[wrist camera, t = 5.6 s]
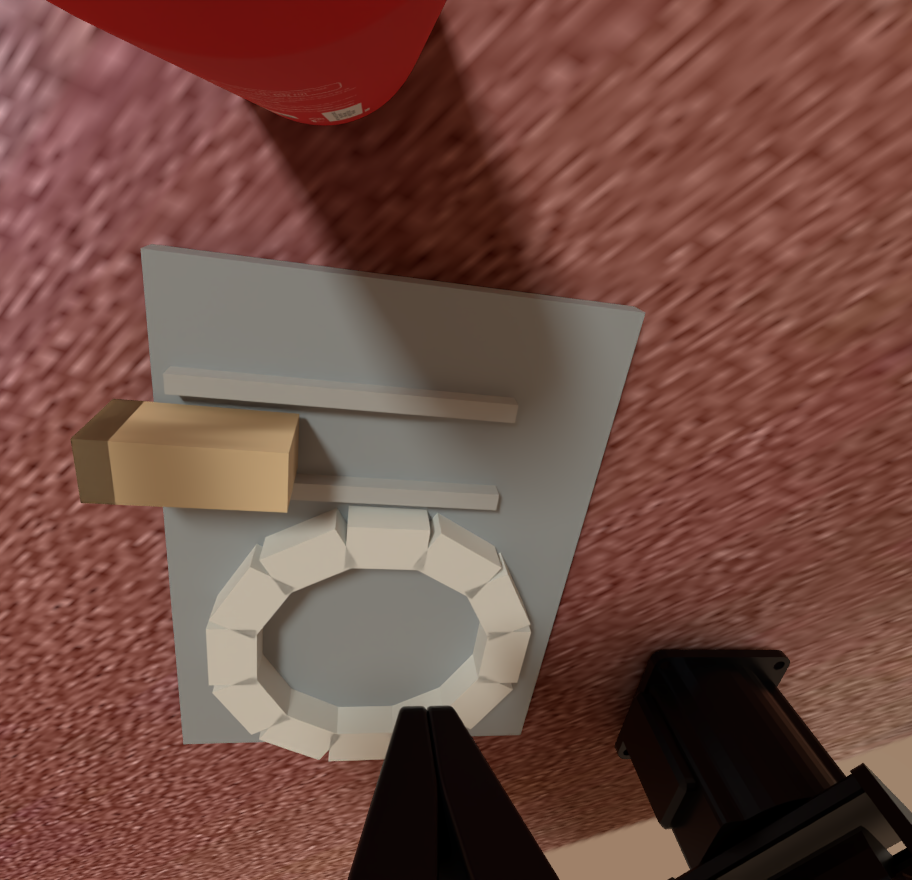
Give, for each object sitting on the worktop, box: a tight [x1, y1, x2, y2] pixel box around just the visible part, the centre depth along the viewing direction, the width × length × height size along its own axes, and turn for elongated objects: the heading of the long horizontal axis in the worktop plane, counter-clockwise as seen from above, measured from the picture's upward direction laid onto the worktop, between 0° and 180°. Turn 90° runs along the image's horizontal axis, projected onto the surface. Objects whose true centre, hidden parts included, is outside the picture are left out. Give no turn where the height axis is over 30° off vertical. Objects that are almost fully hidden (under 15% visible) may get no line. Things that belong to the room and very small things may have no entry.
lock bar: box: [71, 399, 299, 513], centre depth 15 cm, size 5×2×2 cm, turn 81°
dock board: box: [141, 244, 645, 761], centre depth 19 cm, size 14×19×2 cm
